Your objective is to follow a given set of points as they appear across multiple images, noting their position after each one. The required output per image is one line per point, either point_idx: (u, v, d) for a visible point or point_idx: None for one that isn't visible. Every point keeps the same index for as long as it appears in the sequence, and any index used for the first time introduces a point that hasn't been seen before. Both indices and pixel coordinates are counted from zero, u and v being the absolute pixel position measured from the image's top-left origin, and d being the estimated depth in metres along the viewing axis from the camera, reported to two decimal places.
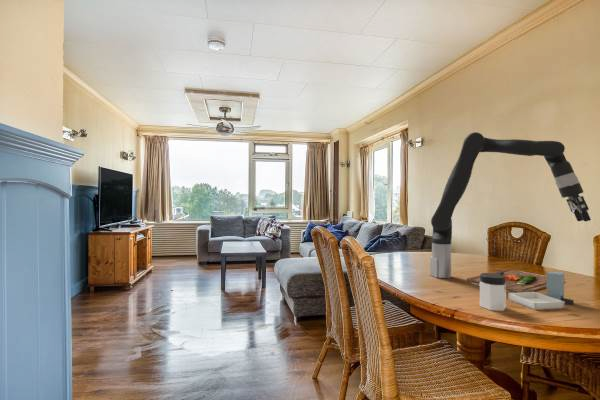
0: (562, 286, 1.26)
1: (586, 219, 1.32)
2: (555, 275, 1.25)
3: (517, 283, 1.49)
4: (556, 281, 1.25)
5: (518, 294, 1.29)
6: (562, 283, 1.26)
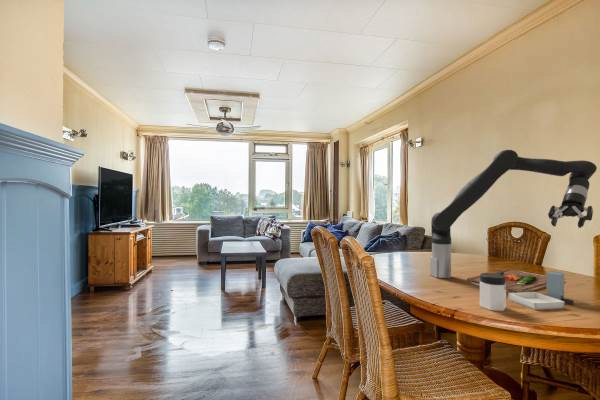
0: (562, 286, 1.26)
1: (581, 224, 1.30)
2: (555, 275, 1.25)
3: (517, 283, 1.49)
4: (556, 281, 1.25)
5: (518, 294, 1.29)
6: (562, 283, 1.26)
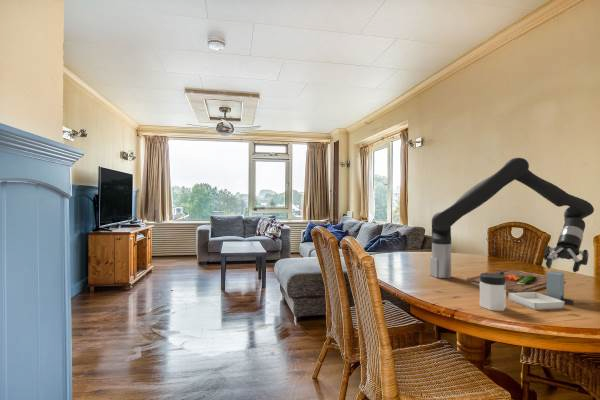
0: (562, 286, 1.26)
1: (576, 269, 1.27)
2: (555, 275, 1.25)
3: (517, 283, 1.49)
4: (556, 281, 1.25)
5: (518, 294, 1.29)
6: (562, 283, 1.26)
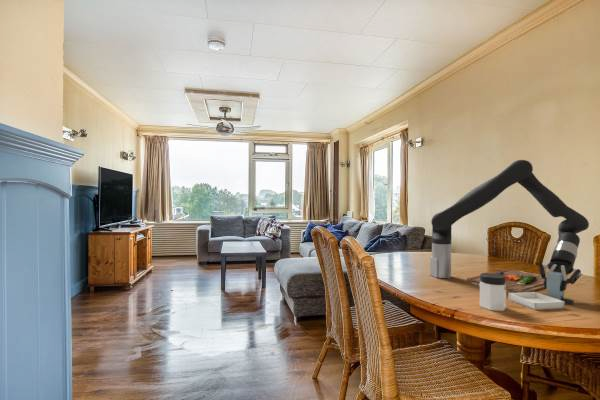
0: None
1: (563, 288, 1.24)
2: (555, 275, 1.25)
3: (517, 283, 1.49)
4: (556, 281, 1.25)
5: (518, 294, 1.29)
6: None
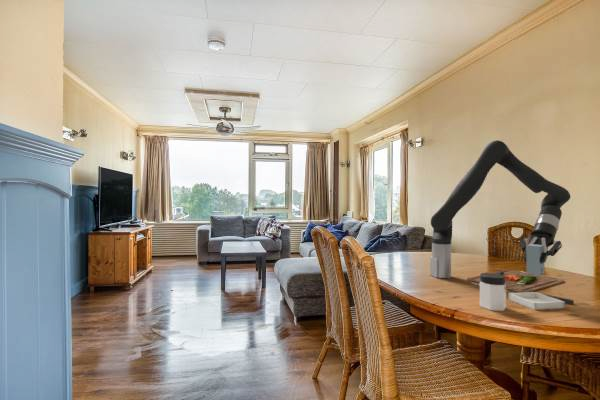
0: None
1: (543, 260, 1.20)
2: (535, 247, 1.22)
3: (517, 283, 1.49)
4: (536, 253, 1.22)
5: (518, 294, 1.29)
6: None
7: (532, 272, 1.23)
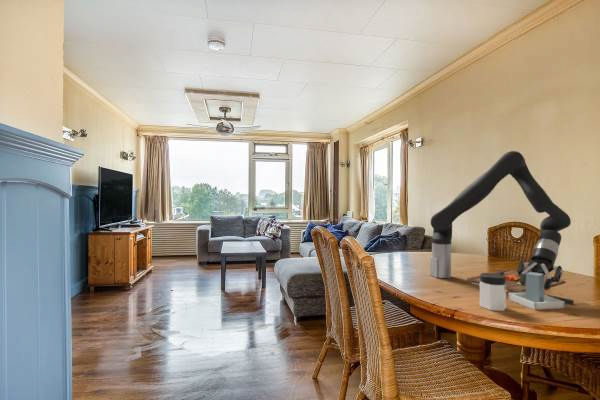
0: (542, 287, 1.23)
1: (548, 287, 1.19)
2: (534, 275, 1.22)
3: (517, 283, 1.49)
4: (535, 282, 1.21)
5: (518, 294, 1.29)
6: (542, 284, 1.23)
7: (532, 301, 1.23)
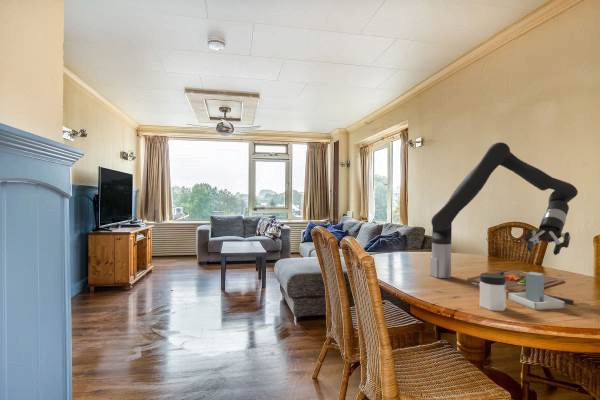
0: (542, 287, 1.23)
1: (557, 251, 1.24)
2: (534, 275, 1.22)
3: (517, 283, 1.49)
4: (535, 282, 1.21)
5: (518, 294, 1.29)
6: (542, 284, 1.23)
7: (532, 301, 1.23)
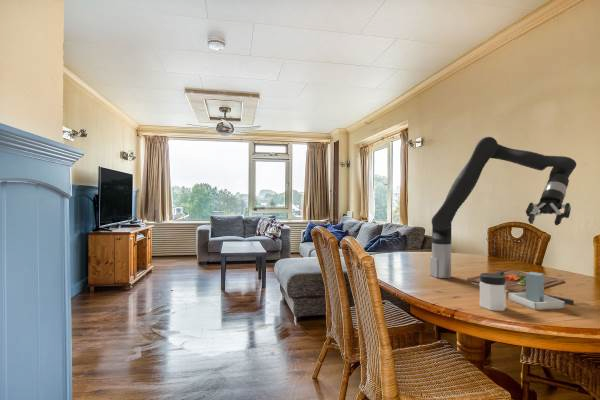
0: (542, 287, 1.23)
1: (558, 222, 1.25)
2: (534, 275, 1.22)
3: (517, 283, 1.48)
4: (535, 282, 1.21)
5: (518, 294, 1.29)
6: (542, 284, 1.23)
7: (532, 301, 1.23)
